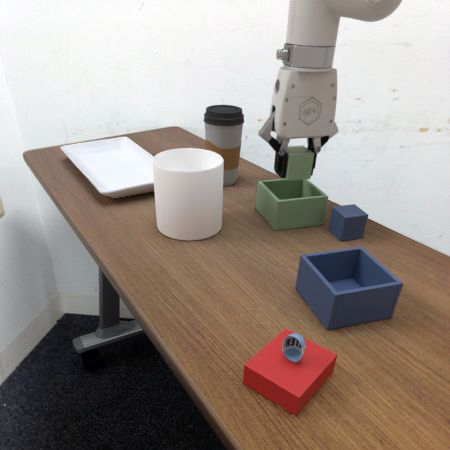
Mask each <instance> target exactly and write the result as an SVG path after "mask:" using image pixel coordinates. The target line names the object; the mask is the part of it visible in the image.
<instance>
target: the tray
mask: <svg viewBox="0 0 450 450" xmlns="http://www.w3.org/2000/svg"><path fill="white" fill-rule="evenodd" d="M59 148H60V150H61V151H62V153H64V155H65V156H66V157H67V158H68V159H69V160H70V161H71V163H72V164H73V165H74V166H75V167H76V168H77V169H78V170H79V171H80V172H81V174H82V175H83V176H85V178H86V179H87V180H88V181H89V183H91V184H92V185H93V187H94V188H95V189H96V190H97V192H98V193H99V194H101V195H102V196H104V197H109V198H111V197H114V198H116V197H122V196H128V197H130V196H129V195H133V196H136V195H135V194H138V195H141V193H142V194H147V193H151V192H154V179H153V166H152V159H153V157H154V156H155V155H154V156H153V155H152V154H151V153H150V152H148V151H147V150H146V149H144V148H143V147H141V145H139V144H137V143H136V142H135V141H133V140H132V139H131V138H129V136H118V137H111V138H105V139H104V138H103V139H97V140H89V141H84V142H78V143H72V144H71V143H70V144H66V145H61V146H60V147H59Z"/></svg>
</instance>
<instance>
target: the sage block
mask: <svg viewBox="0 0 450 450" xmlns="http://www.w3.org/2000/svg"><path fill="white" fill-rule="evenodd" d="M286 155H287V156H288V161H287V170H286V177H285V178H284V179H286V180H287V181H292V180H303V179H308V180H310V179H311V178H312V176H311V172H312V165H313V159H314V153H313V152H312V151H310V150H309V149H307V147H306V146H305V145H304V144H303V145H288V147H287V150H286Z"/></svg>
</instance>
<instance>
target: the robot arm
mask: <svg viewBox="0 0 450 450" xmlns="http://www.w3.org/2000/svg"><path fill="white" fill-rule="evenodd" d="M402 2H403V0H289V2H288V3H289V4H288V15H287V24H286V34H285V43H284V44H283V48H281V49H277V50H276V53H275V57H276V60H278V61H280V60H281V61H282V66H279V68H278V70H277V74H276V78H275V82H274V86H273V90H272V96H271V102H270V103H271V104H270V109H269V117H268V118H267V119H266V121H265V122H264V123H263V125H262V127H261V128H260V129H259V131H258V133H257V135H258V136H259V137H260V138H261V139H262V140H264V142H266V143H267V144H268V145H269V146H270V147H271V148H272V149H273V151H274V152H275V153H274V162H273V170H274V172H275V174H276V175H277V176H278V177H279V179H285V177H286V170H287V161H288V156H287V155H286V150H287V147H288V146H289V144H290V141H291V140H294V139H297V140H298V139H306V141H307V147H306V148H307V149H309V150H310V151H312V152H313V153H314V159H313V165H312V172H311V177H312V176H313V175H314V170H315V168H316V163H317V157H318V154H320V152H321V151H322V148H323V147H324V146H325V145H326V144H327V143H328V142H329V140H330V139H331V138H333V137H334V136H335V135H337V134H338V133H339V127H338V125H337V122H336V121H335V120H336V119H335V118H336V112H337V102H338V101H337V100H338V69H337V68H334V67H333V65H334V59H335V54H336V53H335V52H336V45H337V41H338V32H339V28H340V22H341V18H345V19H346V18H347V19H352V20H357V21H361V22H365V23H374V22H379V21H383V20H384V19H386V18H388V17H389V16H391V15H392V14H393V13H395V11H396V10H397V9H398V8H399V7H400V5H401V3H402ZM272 132H273V133H275V135H276V136H275V137H274V136H273V135H272Z"/></svg>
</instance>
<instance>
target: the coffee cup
mask: <svg viewBox="0 0 450 450" xmlns="http://www.w3.org/2000/svg"><path fill="white" fill-rule="evenodd" d="M203 122H204V134H205V140H204V143H205V150H209V151H212V152H215V153H217V154H219V155H220V156H221V157H222V158H223V160H224V171H223V187H229V186H233V185H234V184H236V181H237V180H238V174H239V173H238V171H239V166H240V160H241V159H240V157H241V151H242V138H243V127H244V123H245V114H244V113H243V108H242V107H240V106H237V105H232V104H213V105H209V106H206V107H205V112H204V113H203Z"/></svg>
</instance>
